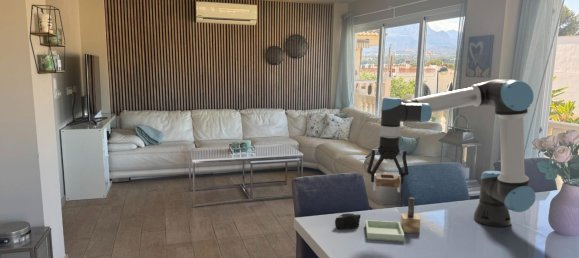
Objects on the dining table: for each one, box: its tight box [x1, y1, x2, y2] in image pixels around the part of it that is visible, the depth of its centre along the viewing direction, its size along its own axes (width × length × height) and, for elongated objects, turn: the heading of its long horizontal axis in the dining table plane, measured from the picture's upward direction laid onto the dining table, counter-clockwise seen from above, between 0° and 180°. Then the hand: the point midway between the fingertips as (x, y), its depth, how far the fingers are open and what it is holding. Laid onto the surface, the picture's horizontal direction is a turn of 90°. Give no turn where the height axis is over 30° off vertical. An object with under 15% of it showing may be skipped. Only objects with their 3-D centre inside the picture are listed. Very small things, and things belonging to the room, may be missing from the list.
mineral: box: [334, 213, 361, 230], centre depth 180 cm, size 10×9×6 cm
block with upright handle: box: [400, 197, 421, 234], centre depth 176 cm, size 7×6×14 cm
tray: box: [364, 219, 405, 243], centre depth 173 cm, size 14×14×3 cm
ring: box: [375, 171, 401, 188], centre depth 170 cm, size 11×9×3 cm
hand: (386, 190), depth 169 cm, fingers closed on ring, 9 cm apart
